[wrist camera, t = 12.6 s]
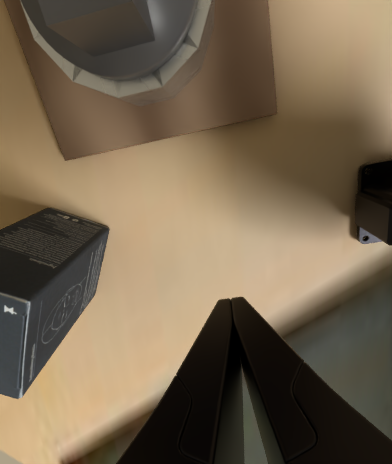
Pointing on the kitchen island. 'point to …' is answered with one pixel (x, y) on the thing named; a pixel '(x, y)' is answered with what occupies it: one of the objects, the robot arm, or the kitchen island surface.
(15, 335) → the box
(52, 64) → the stand
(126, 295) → the kitchen island surface
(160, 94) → the toothed hollow cylinder
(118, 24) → the lens cap
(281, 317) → the kitchen island surface
